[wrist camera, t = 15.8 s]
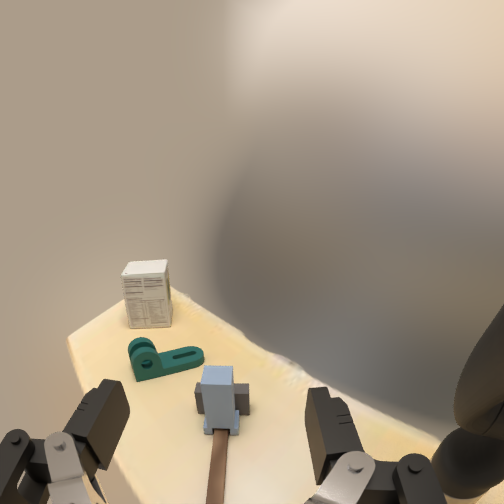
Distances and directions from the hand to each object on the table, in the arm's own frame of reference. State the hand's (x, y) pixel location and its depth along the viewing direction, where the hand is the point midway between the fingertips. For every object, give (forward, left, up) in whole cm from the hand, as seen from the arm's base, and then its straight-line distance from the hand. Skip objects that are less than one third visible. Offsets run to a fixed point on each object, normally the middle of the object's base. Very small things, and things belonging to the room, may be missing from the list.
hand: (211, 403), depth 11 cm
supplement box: (+30, -72, -35) cm, 86 cm away
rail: (+4, -18, -35) cm, 39 cm away
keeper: (+4, -29, -35) cm, 46 cm away
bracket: (+18, -48, -35) cm, 62 cm away
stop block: (+4, -34, -35) cm, 49 cm away
